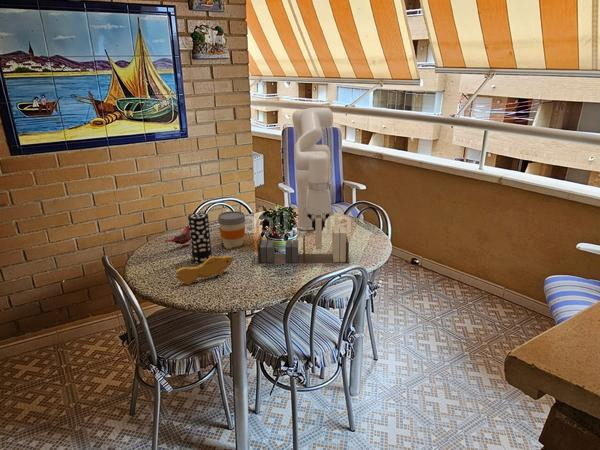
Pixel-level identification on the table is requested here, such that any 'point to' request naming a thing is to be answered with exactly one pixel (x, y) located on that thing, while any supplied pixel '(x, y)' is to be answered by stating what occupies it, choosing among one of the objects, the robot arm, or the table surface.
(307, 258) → the book rack
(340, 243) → the cream books
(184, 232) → the decorative bird figurine
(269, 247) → the grey books
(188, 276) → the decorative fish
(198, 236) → the white-spotted black cylinder
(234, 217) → the reusable coffee cup
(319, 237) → the cream book
